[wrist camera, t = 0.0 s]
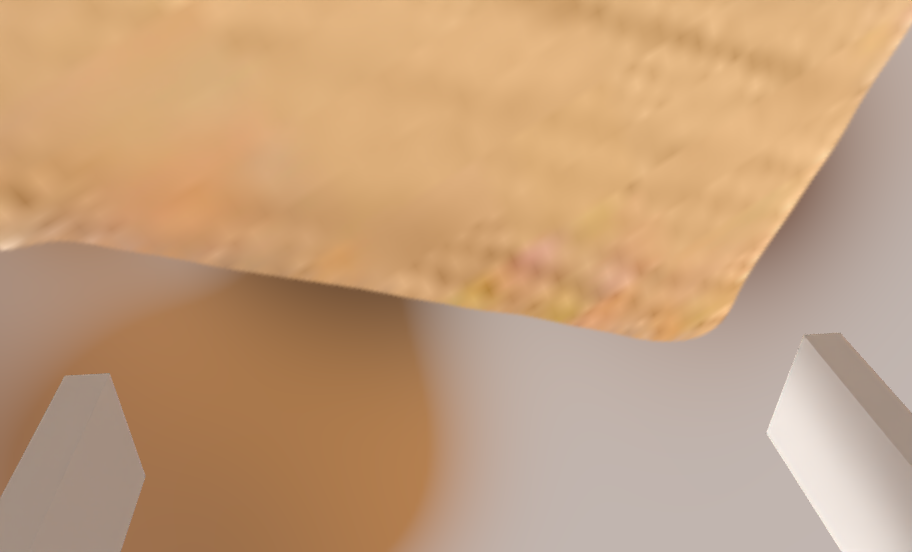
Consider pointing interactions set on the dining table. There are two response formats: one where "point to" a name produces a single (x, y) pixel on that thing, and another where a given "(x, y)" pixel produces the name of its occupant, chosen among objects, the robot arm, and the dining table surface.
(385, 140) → the dining table surface
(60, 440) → the robot arm
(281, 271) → the dining table surface
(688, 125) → the dining table surface
